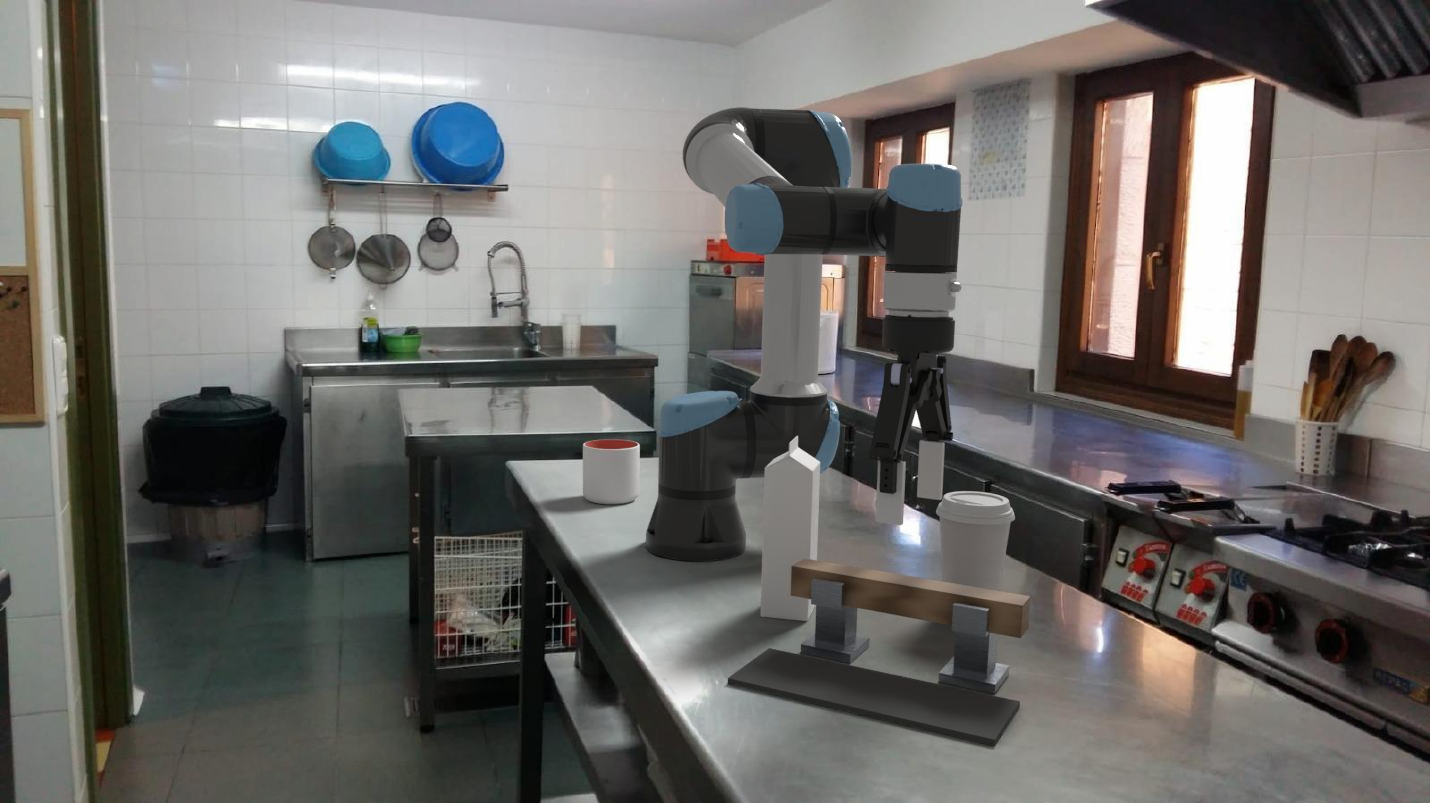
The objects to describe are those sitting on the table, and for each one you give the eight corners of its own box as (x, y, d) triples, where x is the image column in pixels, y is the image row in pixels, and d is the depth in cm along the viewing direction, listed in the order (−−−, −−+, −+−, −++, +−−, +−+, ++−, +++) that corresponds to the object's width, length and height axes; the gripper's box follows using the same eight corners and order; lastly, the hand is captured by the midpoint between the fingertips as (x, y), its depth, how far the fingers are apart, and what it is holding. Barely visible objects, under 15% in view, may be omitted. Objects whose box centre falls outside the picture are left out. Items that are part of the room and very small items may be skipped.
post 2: (937, 682, 116) (941, 602, 115) (955, 662, 122) (959, 586, 121) (994, 694, 113) (999, 612, 112) (1009, 673, 119) (1014, 595, 118)
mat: (727, 683, 115) (727, 677, 115) (768, 652, 124) (769, 647, 124) (994, 745, 102) (994, 739, 102) (1019, 706, 111) (1019, 701, 110)
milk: (760, 617, 136) (763, 442, 132) (769, 601, 141) (773, 433, 138) (809, 622, 134) (813, 444, 131) (816, 606, 140) (821, 436, 137)
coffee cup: (916, 606, 140) (921, 492, 138) (977, 598, 144) (984, 487, 142) (960, 631, 132) (967, 510, 130) (1024, 622, 136) (1032, 504, 133)
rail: (790, 595, 125) (791, 565, 125) (802, 587, 128) (803, 558, 128) (1020, 638, 113) (1022, 605, 112) (1028, 627, 116) (1030, 596, 116)
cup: (650, 498, 197) (650, 443, 195) (616, 508, 188) (616, 451, 187) (606, 490, 202) (606, 437, 201) (571, 500, 194) (571, 445, 192)
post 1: (799, 653, 124) (801, 578, 122) (822, 635, 129) (824, 563, 128) (849, 663, 121) (852, 586, 120) (870, 645, 127) (873, 571, 125)
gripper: (916, 320, 103) (906, 540, 106) (985, 310, 125) (975, 492, 128) (841, 317, 107) (834, 529, 110) (921, 307, 129) (913, 485, 131)
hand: (910, 510), depth 119 cm, fingers open, 13 cm apart
